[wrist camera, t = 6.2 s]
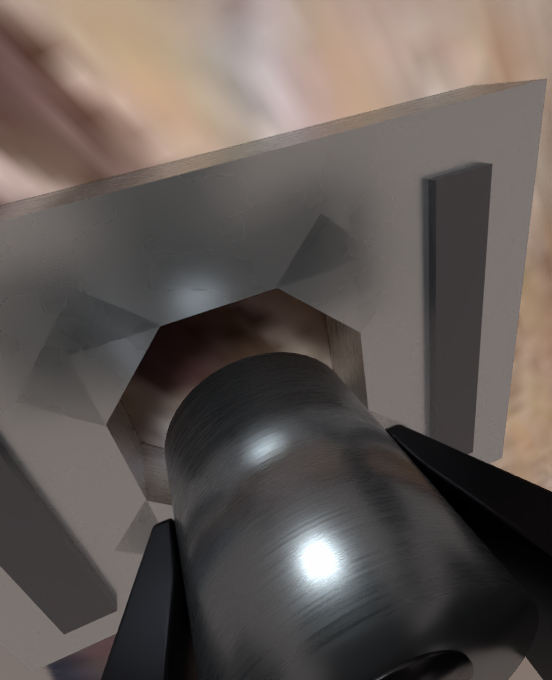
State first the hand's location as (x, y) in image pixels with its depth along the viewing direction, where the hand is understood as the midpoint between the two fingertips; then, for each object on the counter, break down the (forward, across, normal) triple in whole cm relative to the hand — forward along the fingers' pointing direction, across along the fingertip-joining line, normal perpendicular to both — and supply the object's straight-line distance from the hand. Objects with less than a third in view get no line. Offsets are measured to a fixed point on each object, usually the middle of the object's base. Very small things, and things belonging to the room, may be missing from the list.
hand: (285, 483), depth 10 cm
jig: (+5, 0, 0) cm, 5 cm away
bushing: (+2, 0, 0) cm, 2 cm away
